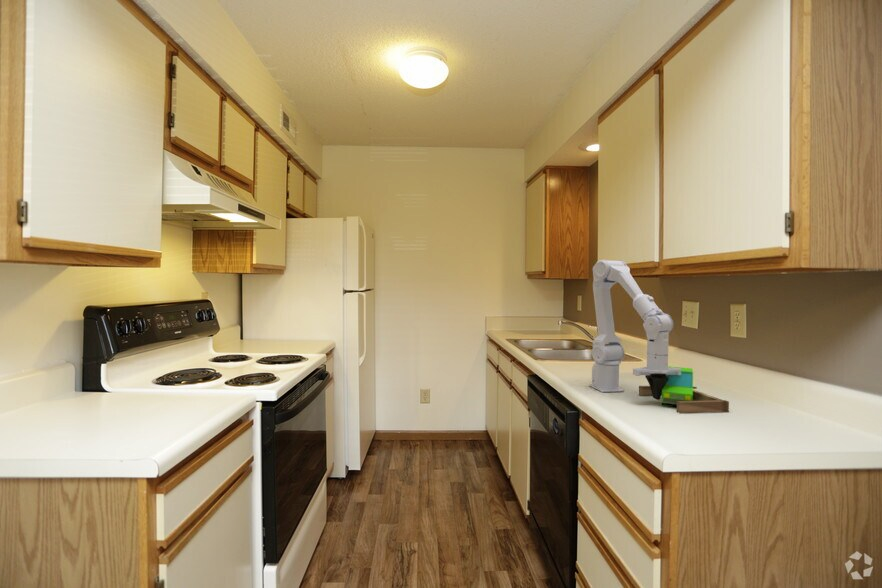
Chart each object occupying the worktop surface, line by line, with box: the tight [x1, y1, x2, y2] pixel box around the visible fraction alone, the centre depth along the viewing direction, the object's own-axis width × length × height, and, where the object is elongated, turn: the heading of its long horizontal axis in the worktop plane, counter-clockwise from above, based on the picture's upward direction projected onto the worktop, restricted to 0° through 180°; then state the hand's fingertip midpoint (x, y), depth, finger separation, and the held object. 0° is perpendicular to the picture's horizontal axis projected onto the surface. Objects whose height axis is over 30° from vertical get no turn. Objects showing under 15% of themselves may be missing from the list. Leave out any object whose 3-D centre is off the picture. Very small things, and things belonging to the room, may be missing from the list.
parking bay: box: [638, 385, 730, 414], centre depth 132 cm, size 20×15×3 cm
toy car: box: [661, 365, 697, 406], centre depth 131 cm, size 10×13×10 cm
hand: (656, 398), depth 131 cm, fingers closed
